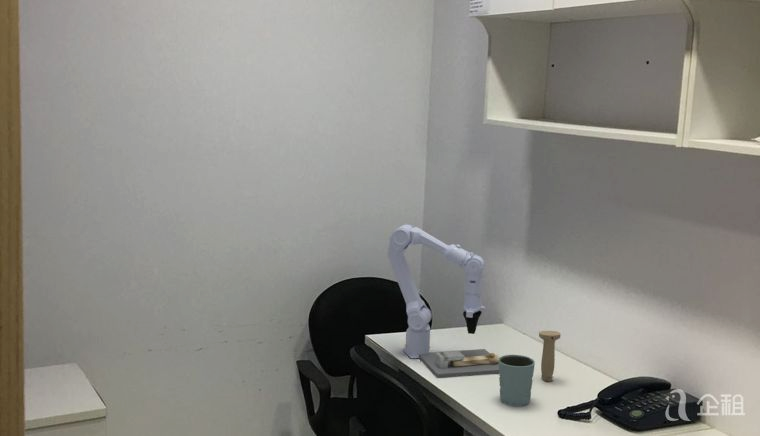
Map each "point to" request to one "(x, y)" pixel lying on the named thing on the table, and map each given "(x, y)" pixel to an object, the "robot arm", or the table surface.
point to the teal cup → (515, 379)
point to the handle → (548, 354)
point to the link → (476, 360)
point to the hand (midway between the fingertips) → (471, 333)
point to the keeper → (447, 358)
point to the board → (460, 370)
